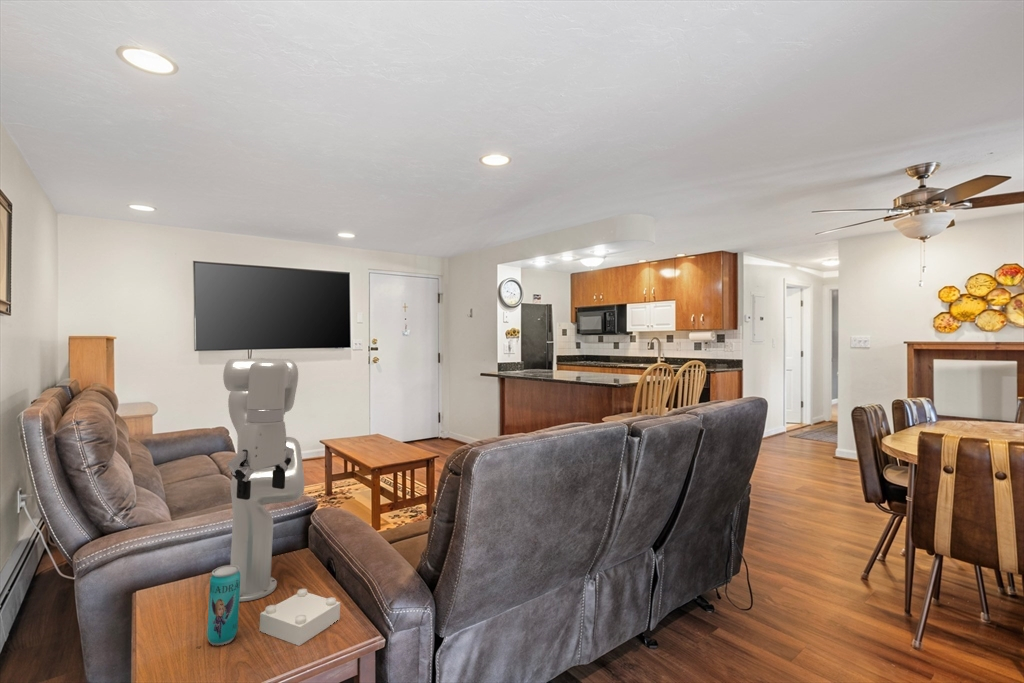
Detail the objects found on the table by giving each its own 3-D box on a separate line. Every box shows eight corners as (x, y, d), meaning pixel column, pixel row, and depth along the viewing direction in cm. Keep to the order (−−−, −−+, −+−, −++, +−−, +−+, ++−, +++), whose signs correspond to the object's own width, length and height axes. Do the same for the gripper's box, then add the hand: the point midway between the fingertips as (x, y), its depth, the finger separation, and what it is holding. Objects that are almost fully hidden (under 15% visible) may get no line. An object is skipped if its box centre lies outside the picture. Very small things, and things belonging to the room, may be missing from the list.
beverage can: (204, 650, 105) (208, 577, 105) (208, 635, 110) (212, 566, 111) (235, 644, 107) (239, 573, 108) (238, 630, 113) (242, 562, 113)
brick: (259, 631, 113) (260, 608, 113) (301, 607, 124) (302, 586, 124) (299, 645, 108) (300, 622, 108) (339, 619, 119) (340, 598, 119)
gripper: (281, 411, 123) (278, 482, 122) (218, 419, 107) (214, 501, 106) (306, 414, 120) (302, 486, 120) (246, 422, 104) (241, 505, 103)
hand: (261, 493), depth 113 cm, fingers open, 9 cm apart
